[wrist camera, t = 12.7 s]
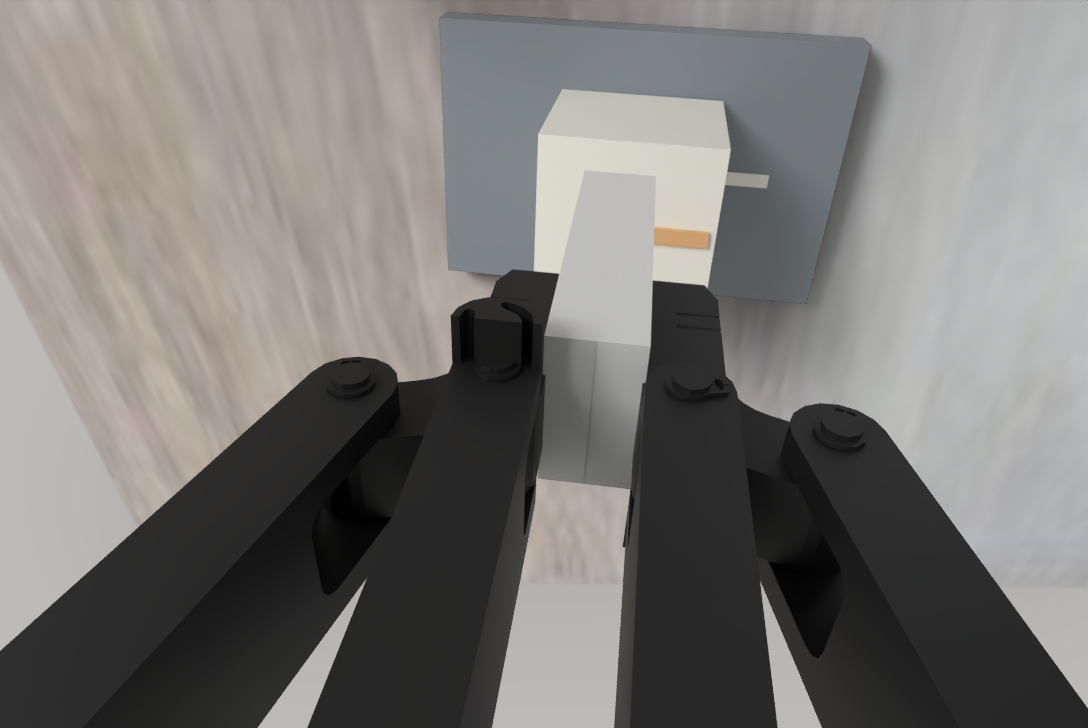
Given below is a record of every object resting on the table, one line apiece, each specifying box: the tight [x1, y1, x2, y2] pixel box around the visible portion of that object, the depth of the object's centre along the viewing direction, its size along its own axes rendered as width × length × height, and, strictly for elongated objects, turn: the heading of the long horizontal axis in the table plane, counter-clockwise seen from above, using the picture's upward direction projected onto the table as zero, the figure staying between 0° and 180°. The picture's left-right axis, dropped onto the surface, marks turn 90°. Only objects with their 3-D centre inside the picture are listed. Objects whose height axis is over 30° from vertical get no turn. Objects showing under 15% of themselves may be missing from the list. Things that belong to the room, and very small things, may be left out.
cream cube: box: [534, 89, 731, 288], centre depth 33 cm, size 7×7×7 cm
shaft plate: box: [439, 12, 871, 304], centre depth 35 cm, size 12×18×6 cm, turn 88°
